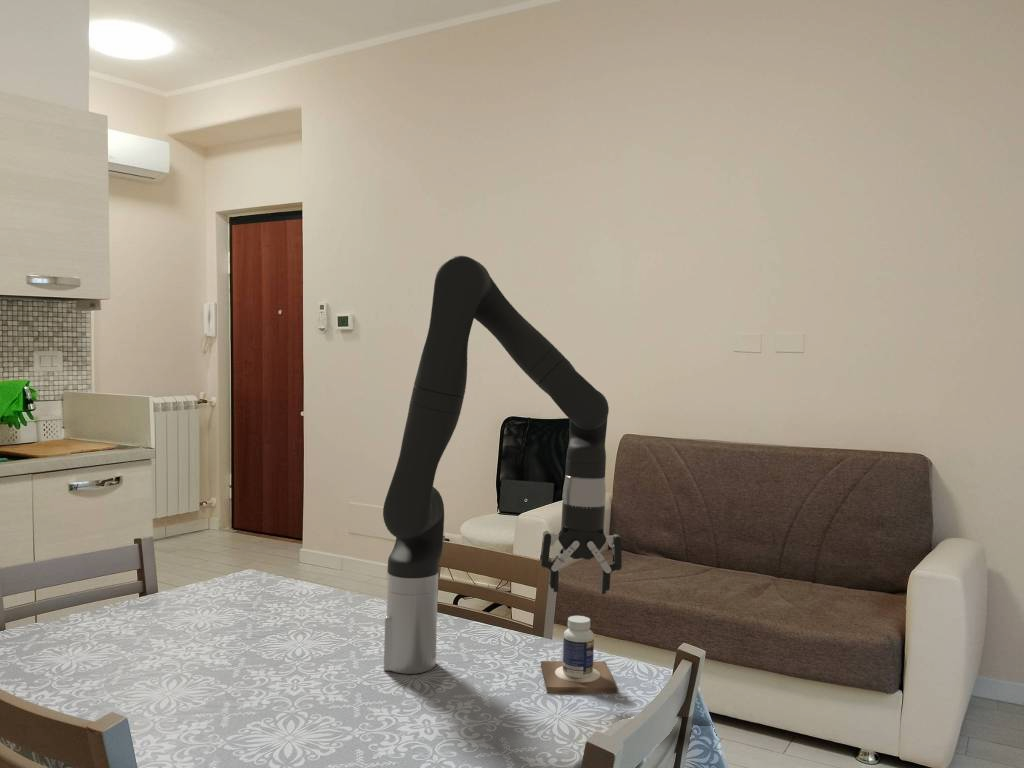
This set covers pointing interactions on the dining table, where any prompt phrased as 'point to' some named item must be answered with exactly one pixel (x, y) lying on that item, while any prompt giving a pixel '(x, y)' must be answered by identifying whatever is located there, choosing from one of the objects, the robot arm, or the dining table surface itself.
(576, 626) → the pill bottle
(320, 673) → the dining table surface
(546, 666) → the rest board
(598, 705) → the dining table surface
